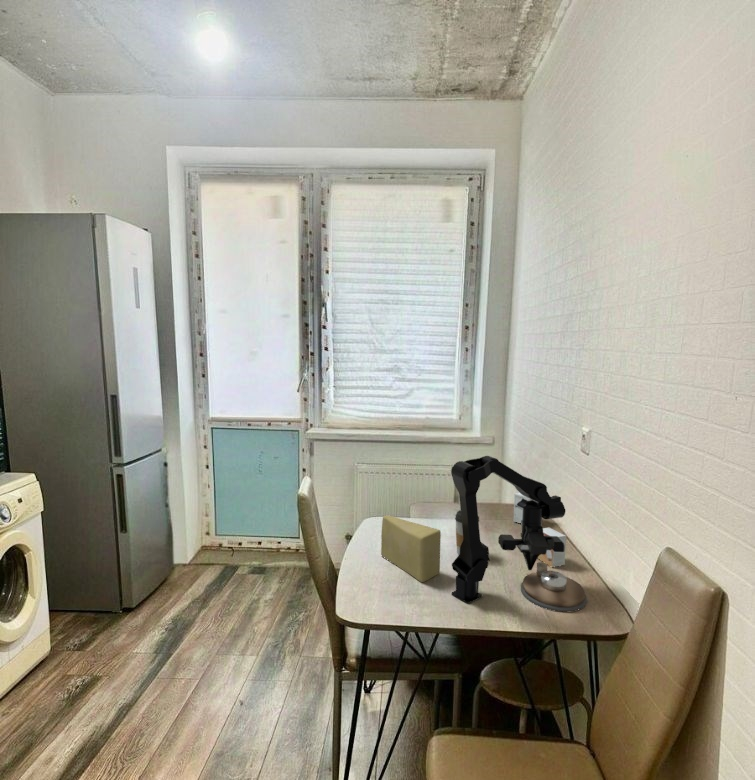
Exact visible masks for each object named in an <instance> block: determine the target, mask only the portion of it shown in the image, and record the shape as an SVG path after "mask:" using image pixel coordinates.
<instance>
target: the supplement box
mask: <svg viewBox="0 0 755 780" xmlns="http://www.w3.org/2000/svg"><path fill="white" fill-rule="evenodd" d="M522 499H525V500H527V501H530V500H532V499H530V498H528V497H526V496H523V495H522V494H521V493H520V492H519V491H518V492H516V493H514V501H513V502H514V503H513V520H512V521H514V522H513V523H515V522H518V523H521V520H522V516H523V508H521V507H519V506H517V503H518V502H520V501H521V500H522ZM533 501H534V500H533ZM536 502H537V501H536ZM518 523H517V524H518Z"/></svg>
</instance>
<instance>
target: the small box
mask: <svg viewBox="0 0 755 780" xmlns="http://www.w3.org/2000/svg"><path fill="white" fill-rule="evenodd" d="M543 534H544V536H557V537H558V538H559V539H560V540H561V541H562V542H563V543H564V545H565V551H564V552H554V550H553V549H552V550H547V552H546V554H545V555H542V554H541V555H539V556H538V559H537V560H539V559H540V560H539V561H540V562H542V561H543V563H544V562H545V563H546V564H548V565H550V566H552V567H554V566H559V567H561V566H560V565H564V566H565V565H566V564H565V562H566V547H567V546H566V545H567V544H566V543H567V535H565V534H563V533H561V532H559V531H557V530H555V529H553V528H552V527H545V528H544V527H543ZM548 565H547V566H548ZM550 566H549V567H550ZM554 568H555V567H554Z"/></svg>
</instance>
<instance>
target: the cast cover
mask: <svg viewBox="0 0 755 780" xmlns="http://www.w3.org/2000/svg"><path fill="white" fill-rule="evenodd" d="M566 577H567V576H565V575H564V574H563V573H561V572H558V571H556V570H547V571H543V572H542V573H541V586H542V587H543V588H544V589H546V590H548V591H551V592H564V591H565V590H566V580H567V578H566Z"/></svg>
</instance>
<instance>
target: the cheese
mask: <svg viewBox="0 0 755 780" xmlns="http://www.w3.org/2000/svg"><path fill="white" fill-rule="evenodd" d="M441 535H442V533H441V530H440V529H437V528H434V527H430V526H427V525H423V524H420V523H418V522H417V523H416V522H413V521H409V520H405V519H403V518H399V517H396V516H393V515H389V514H388V515H384V516H382V521H381V535H380V536H381V537H380V539H381V545H380V548H381V549H380V555H382V556H383V557H385V558H386V559H388V560H389V561H388V560H387V561H388V562H390V561H391V562H392V564H393V563H394V564H393V565H395V566H396V565H397V566H396V567H398V568H400V569H402V570H403V571H405V572H406V573H408V574H409V575H410V576H412V577H413V578H414V579H416V580H417V581H419V582H420V583H425V582H426V581H429V580H430V579H432V578H434V577H436V576H438V575H439V574H440V571H441V537H442V536H441ZM382 556H381V557H382ZM383 557H382V558H383ZM385 558H384V559H385ZM386 559H385V560H386ZM391 562H390V563H391Z"/></svg>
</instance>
